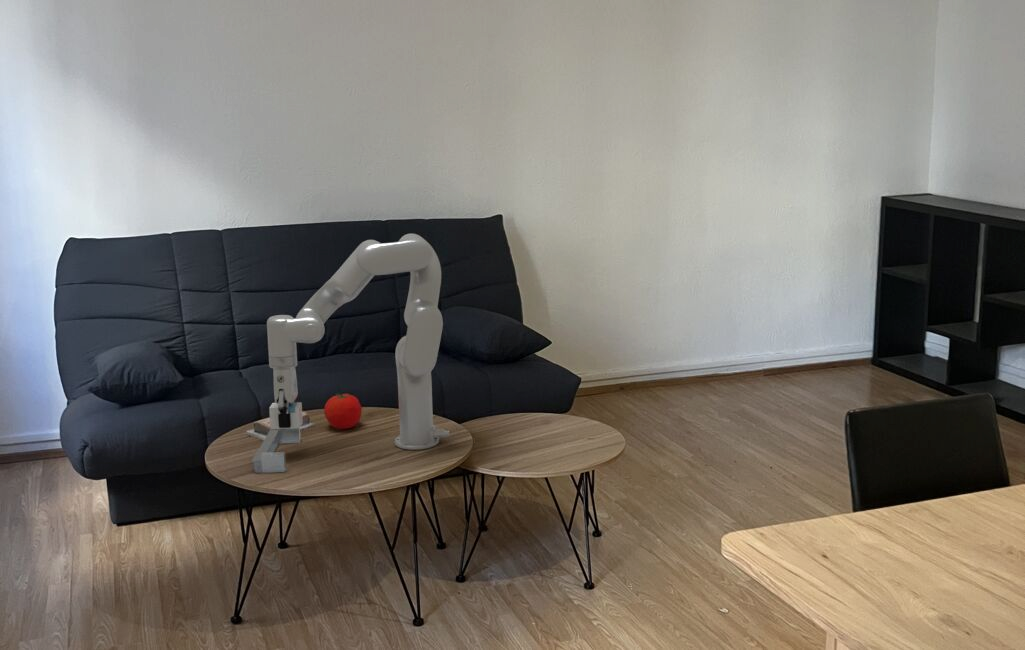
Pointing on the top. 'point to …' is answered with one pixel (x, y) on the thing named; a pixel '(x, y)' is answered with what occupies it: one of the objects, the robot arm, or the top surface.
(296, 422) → the block
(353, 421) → the tomato
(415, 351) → the robot arm
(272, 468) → the rail
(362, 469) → the top surface
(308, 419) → the packaged product
